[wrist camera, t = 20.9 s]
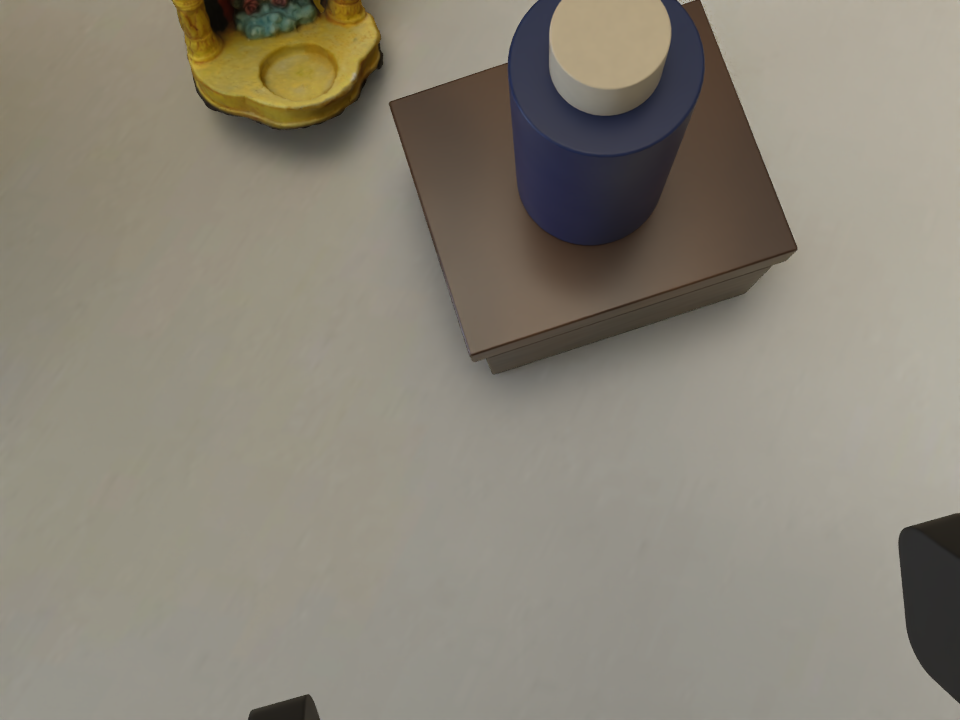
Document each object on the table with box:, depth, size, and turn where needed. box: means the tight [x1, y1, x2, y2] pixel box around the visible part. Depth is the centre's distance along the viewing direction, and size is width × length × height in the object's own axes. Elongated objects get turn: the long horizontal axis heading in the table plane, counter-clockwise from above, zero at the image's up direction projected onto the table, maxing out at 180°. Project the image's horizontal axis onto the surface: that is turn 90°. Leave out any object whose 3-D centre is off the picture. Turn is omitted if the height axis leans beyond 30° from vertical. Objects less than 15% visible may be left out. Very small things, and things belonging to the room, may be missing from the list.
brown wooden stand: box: [389, 0, 797, 374], centre depth 35 cm, size 12×10×6 cm
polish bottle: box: [508, 0, 705, 245], centre depth 27 cm, size 5×5×10 cm
